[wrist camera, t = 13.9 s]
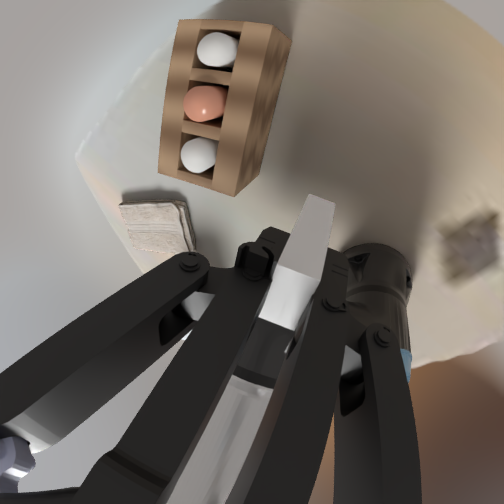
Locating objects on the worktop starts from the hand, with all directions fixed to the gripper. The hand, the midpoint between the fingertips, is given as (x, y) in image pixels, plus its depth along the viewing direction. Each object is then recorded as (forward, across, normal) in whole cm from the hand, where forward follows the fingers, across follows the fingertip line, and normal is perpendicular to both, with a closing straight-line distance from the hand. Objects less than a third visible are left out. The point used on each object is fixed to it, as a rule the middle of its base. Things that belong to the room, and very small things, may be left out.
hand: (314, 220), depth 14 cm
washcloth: (+27, +29, +26) cm, 47 cm away
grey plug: (+25, +16, -9) cm, 31 cm away
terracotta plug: (+24, +16, -2) cm, 29 cm away
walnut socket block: (+26, +16, -2) cm, 31 cm away
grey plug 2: (+25, +16, +5) cm, 30 cm away
